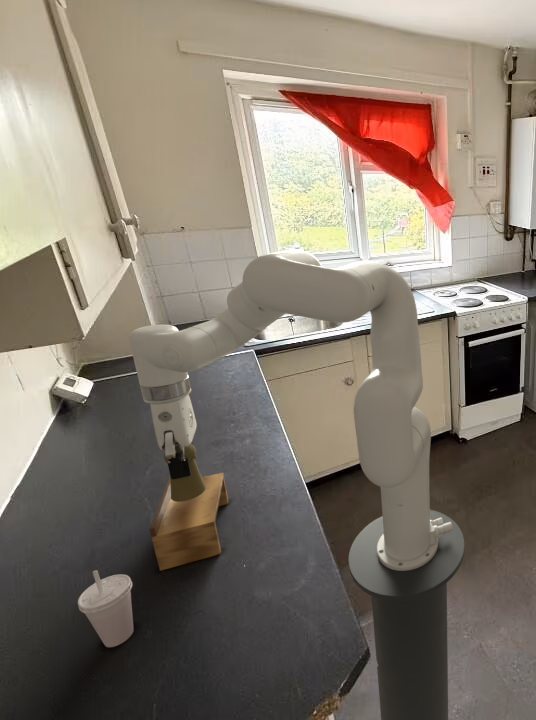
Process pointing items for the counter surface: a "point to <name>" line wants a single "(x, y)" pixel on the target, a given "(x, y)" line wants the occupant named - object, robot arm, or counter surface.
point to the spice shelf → (188, 525)
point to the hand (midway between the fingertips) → (184, 468)
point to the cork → (187, 479)
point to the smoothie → (109, 608)
